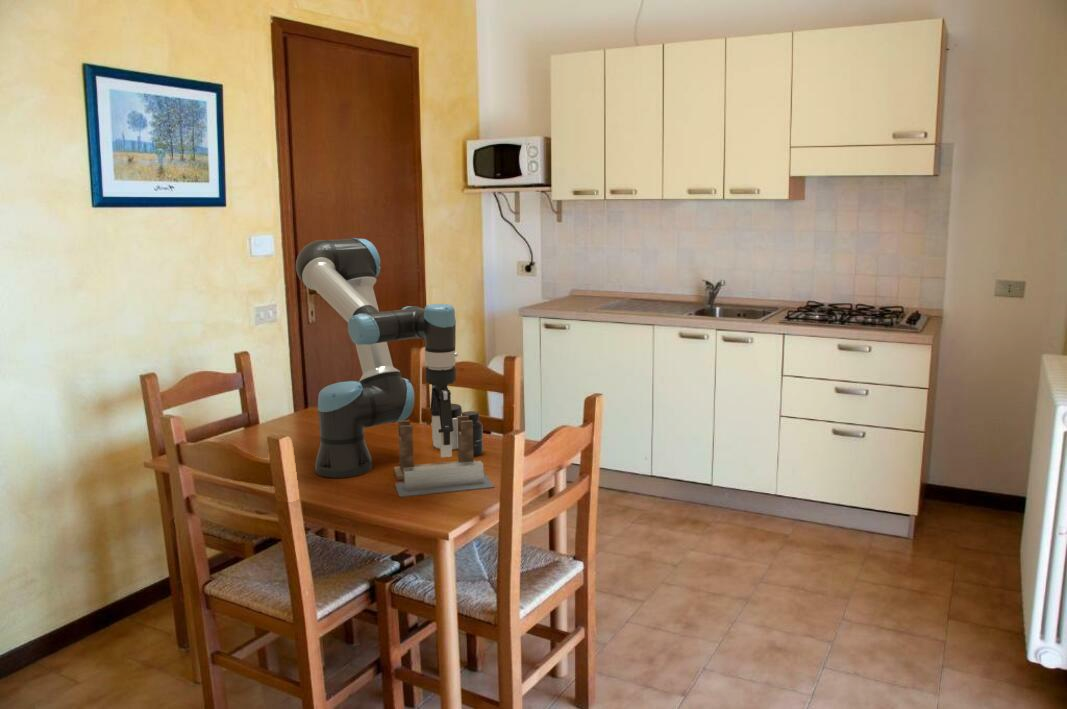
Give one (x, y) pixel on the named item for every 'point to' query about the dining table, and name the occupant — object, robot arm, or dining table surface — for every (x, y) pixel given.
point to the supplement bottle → (476, 432)
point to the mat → (442, 488)
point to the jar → (455, 412)
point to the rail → (443, 475)
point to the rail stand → (408, 461)
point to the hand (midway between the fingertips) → (441, 448)
